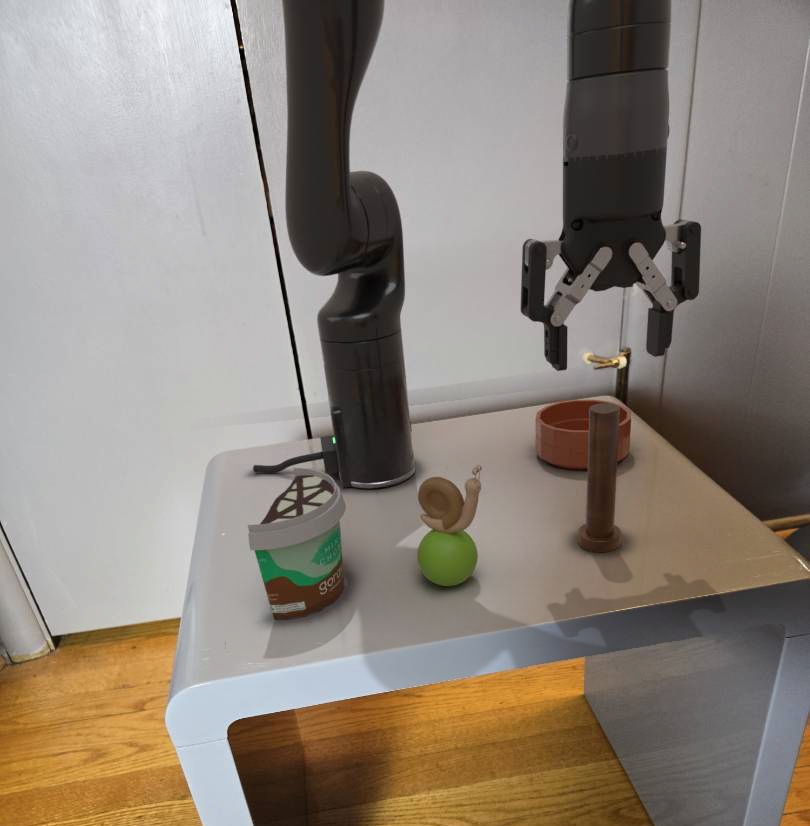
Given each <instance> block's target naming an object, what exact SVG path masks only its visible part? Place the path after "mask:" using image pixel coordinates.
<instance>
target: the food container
mask: <svg viewBox="0 0 810 826" xmlns="http://www.w3.org/2000/svg"><path fill="white" fill-rule="evenodd" d="M293 475H294V479H293V480H292V482H291V483H290V485H289V486H288V487H287V488H286V489H285V490H284V491H283V492H282V493H280V494H279V495H278V496H277V497H276V498H275V499H274V501H273V502H272V503H271V506H270V508H269V509H268V511H267V513H266V515H265V516H264V518H263V519H262V520H261V522H260V523H259V524H247V528H248V533H247V537H248V542H249V543H248V545H249V550H250V551H254V554H255V557H256V561H257V563H258V568H259V571H260V575H261V578H262V582H263V585H264V589H265V592H266V596H267V599H268V603H269V606H270V610H271V614H272V617H273V620H291V619H297V618H303V617H307V616H309V615H312V614H316V613H319V612H322V611H323V610H324V609H325V608H327V607H330V606H331V605H332V604H334V603H335V602H336V601H337V600H338V599H339V598H340V597H341V596H342V594H343V591H344V588H345V575H344V562H343V549H342V536H341V535H342V534H341V520H342V518H343V517H344V515H345V513H346V509H347V508H346V507H347V504H346V502H345V499H344V496H343V494H342V492H341V488H340V487H339V485H338V483H336V481H335V480H334V478H333V477H331V475H329V474H326V473H325V471H324V472H323V471H320V470H317V469H312V468H308V467H307V468H305V467H293Z"/></svg>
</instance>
